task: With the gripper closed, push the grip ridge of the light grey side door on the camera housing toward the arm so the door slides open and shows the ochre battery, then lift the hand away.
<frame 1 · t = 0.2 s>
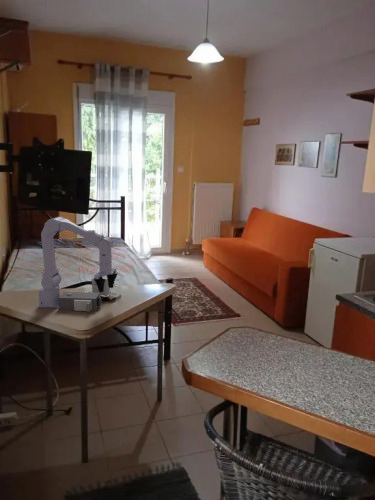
hand: (106, 289, 196), 10 cm above the table, tool pointing down, fingers open, 7 cm apart
camera housing: (79, 307, 199), on the table
camera door: (82, 306, 192), point 3 cm above the table, slide at 0.0 cm
small box: (101, 296, 216), on the table
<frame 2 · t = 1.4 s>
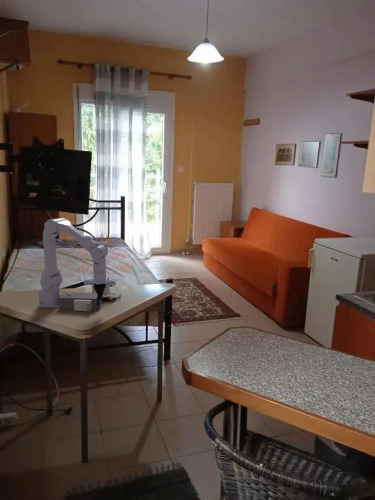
hand: (100, 299, 190), 7 cm above the table, tool pointing down, fingers closed
nothing on the table moved.
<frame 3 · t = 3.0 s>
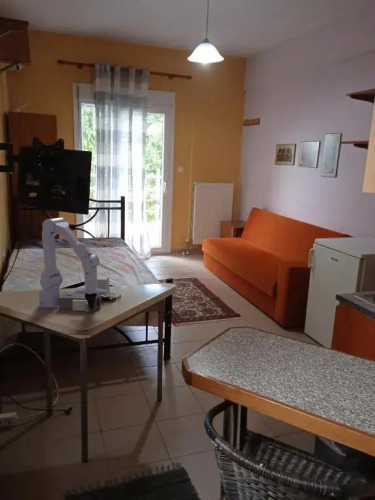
hand: (91, 308, 191), 2 cm above the table, tool pointing down, fingers closed
camera door: (80, 306, 192), point 3 cm above the table, slide at 0.6 cm, touching gripper
everything else where it was.
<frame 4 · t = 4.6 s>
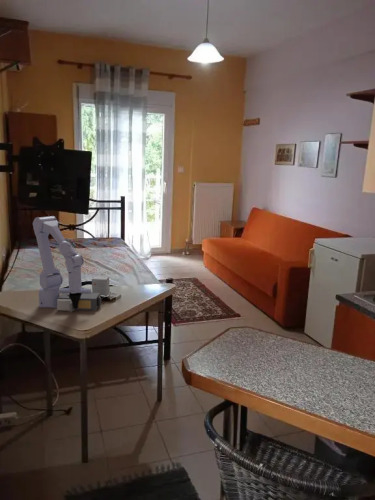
hand: (75, 307, 191), 2 cm above the table, tool pointing down, fingers closed
camera door: (65, 305, 192), point 3 cm above the table, slide at 8.0 cm, touching gripper
everything else where it was.
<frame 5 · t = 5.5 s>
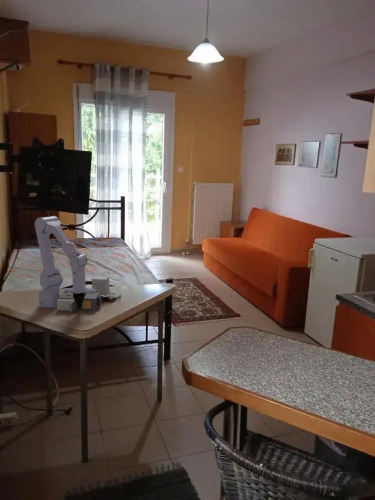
hand: (79, 308, 191), 2 cm above the table, tool pointing down, fingers closed
camera door: (64, 305, 192), point 3 cm above the table, slide at 8.1 cm
everything else where it was.
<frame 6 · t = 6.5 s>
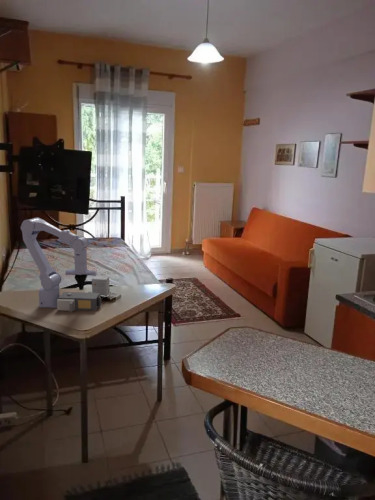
hand: (81, 289, 197), 9 cm above the table, tool pointing down, fingers closed
nothing on the table moved.
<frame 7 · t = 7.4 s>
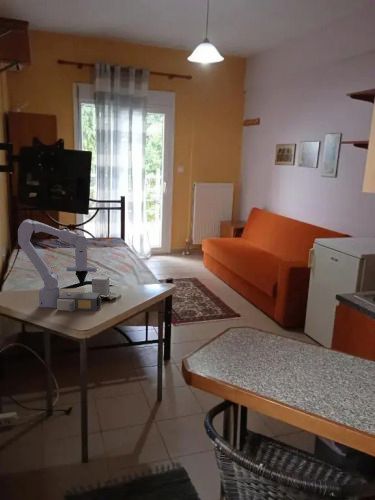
hand: (82, 285, 203), 9 cm above the table, tool pointing down, fingers closed
nothing on the table moved.
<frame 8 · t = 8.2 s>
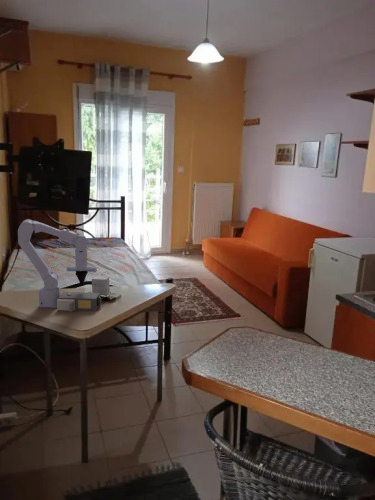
hand: (82, 285, 203), 9 cm above the table, tool pointing down, fingers closed
nothing on the table moved.
at the end: camera door slide at 8.1 cm; small box moved 0.3 cm from its start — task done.
